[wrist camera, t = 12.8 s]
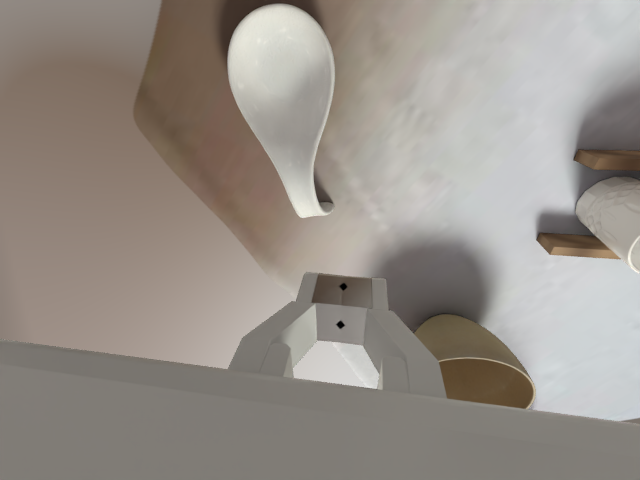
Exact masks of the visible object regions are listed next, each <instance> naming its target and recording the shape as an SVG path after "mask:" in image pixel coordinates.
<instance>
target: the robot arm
mask: <svg viewBox="0 0 640 480" xmlns="http://www.w3.org/2000/svg"><path fill="white" fill-rule="evenodd" d="M317 340H320V341H331V342H341V343H348V344H355V345H363V346H364V349H365V350H366V352H367V354H368V355H369V357H370V359H371V361H372V362H373V364H374V366H375V368H376V369H377V371H378V373H379V380H378V386H377V389H372V388H364V387H356V386H349V385H342V384H334V383H327V382H319V381H312V380H303V379H296V378H294V376H293V368H294V367H295V365H296V364H297V363H298V362H299V361H300V360H301V359H302V358H303V356H304V355H305V354H306V353H307V352H308V351H309V350H310V349H311V347H312V346H313V345H314V344H315V343H316V342H317ZM0 480H640V424H634V423H627V422H620V421H612V420H604V419H597V418H589V417H582V416H575V415H567V414H560V413H552V412H545V411H537V410H530V409H522V408H515V407H507V406H500V405H492V404H485V403H477V402H470V401H462V400H455V399H447V396H446V391H445V387H444V383H443V378H442V374H441V370H440V365H439V361H438V360H437V359H436V358H435V357H434V356H433V355H432V353H431V352H430V351H429V350H428V349H427V348H426V347H425V346H424V345H423V344H422V342H421V341H420V340H419V339H418V338H417V337H416V336H415V335H414V334H413V333H412V331H411V330H410V329H409V328H408V327H407V326H406V325H405V324H404V323H403V322H402V321H401V319H400V318H399V317H398V316H397V315H396V314H395V313H394V312H393V311H389V309H388V296H387V284H386V279H385V278H366V277H352V276H342V275H332V274H323V273H311V272H306V273H305V274H304V276H303V280H302V283H301V286H300V289H299V293H298V296H297V299H296V302H294V301H292V302H290V303H289V304H287V305H286V306H285V307H284V308H282V309H281V310H279V311H278V312H277V313H275V314H274V315H273V316H271V317H270V318H269V319H267V320H266V321H264V322H263V323H262V324H260V325H259V326H258V327H257V328H255V329H254V330H252V331H251V332H250V333H248V334H247V335H246V336H244V337H243V338H242V340H241V342H240V344H239V346H238V348H237V350H236V353H235V355H234V357H233V359H232V361H231V363H230V365H229V368H228V369H221V368H213V367H207V366H199V365H191V364H184V363H176V362H169V361H161V360H154V359H146V358H139V357H131V356H124V355H116V354H108V353H101V352H94V351H86V350H78V349H71V348H63V347H56V346H48V345H40V344H33V343H25V342H18V341H10V340H2V339H0Z"/></svg>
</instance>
